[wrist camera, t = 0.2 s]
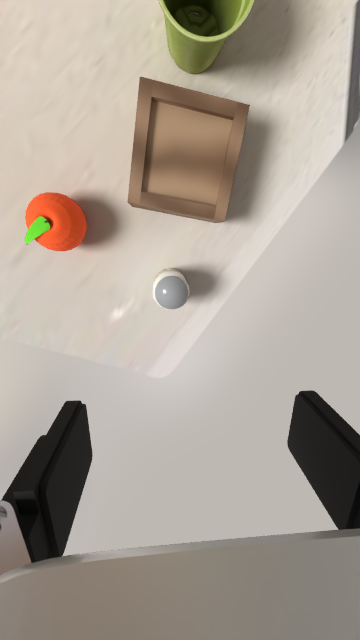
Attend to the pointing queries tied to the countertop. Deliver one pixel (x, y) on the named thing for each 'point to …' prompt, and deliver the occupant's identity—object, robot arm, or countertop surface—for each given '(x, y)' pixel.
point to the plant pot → (201, 29)
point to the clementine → (55, 222)
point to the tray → (185, 151)
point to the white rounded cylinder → (170, 289)
